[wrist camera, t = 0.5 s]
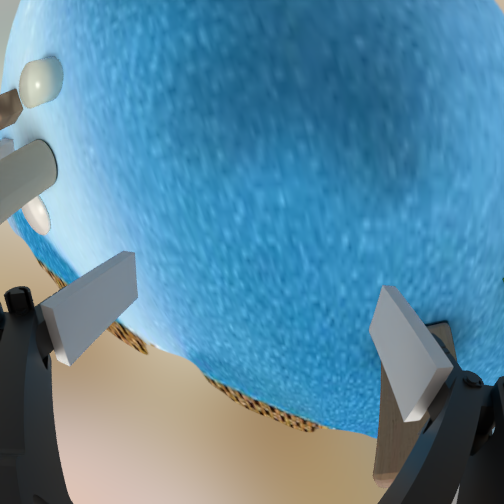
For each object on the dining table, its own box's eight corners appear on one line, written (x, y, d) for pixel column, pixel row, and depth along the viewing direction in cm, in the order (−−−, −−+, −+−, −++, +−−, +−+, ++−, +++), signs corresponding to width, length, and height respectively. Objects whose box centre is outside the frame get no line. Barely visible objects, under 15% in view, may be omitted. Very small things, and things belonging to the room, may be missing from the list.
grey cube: (4, 137, 30) (-12, 146, 27) (13, 139, 30) (-4, 148, 27) (7, 157, 33) (-8, 166, 30) (16, 159, 32) (-1, 169, 29)
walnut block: (8, 103, 25) (-12, 112, 22) (16, 88, 24) (-5, 96, 20) (15, 122, 28) (-5, 132, 24) (23, 109, 26) (1, 118, 22)
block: (449, 317, 28) (466, 467, 13) (444, 357, 32) (449, 478, 17) (379, 332, 32) (370, 482, 17) (385, 368, 37) (376, 489, 22)
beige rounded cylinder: (37, 65, 21) (17, 71, 18) (62, 49, 20) (39, 54, 17) (42, 105, 25) (22, 113, 22) (66, 94, 23) (44, 101, 21)
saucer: (16, 187, 36) (14, 189, 36) (39, 186, 34) (36, 188, 34) (33, 231, 42) (31, 232, 42) (57, 236, 40) (55, 237, 40)
